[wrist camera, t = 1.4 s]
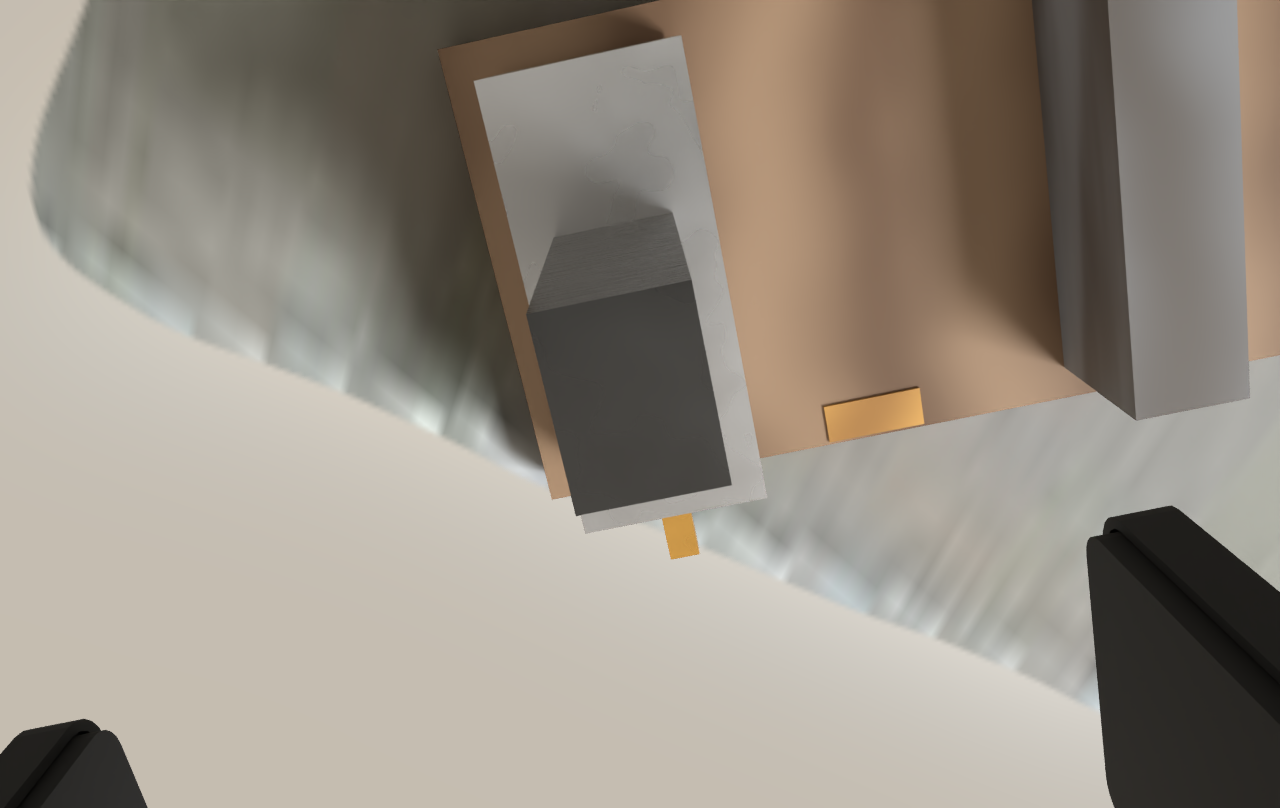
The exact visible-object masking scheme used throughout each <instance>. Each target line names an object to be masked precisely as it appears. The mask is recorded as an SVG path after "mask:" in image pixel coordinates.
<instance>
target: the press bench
mask: <svg viewBox="0 0 1280 808" xmlns="http://www.w3.org/2000/svg"><path fill="white" fill-rule="evenodd" d="M680 35H681V37H682V42H683V48H684V53H685V59H686V64H687V69H688V75H689V80H690V85H691V91H692V96H693V101H694V107H695V112H696V118H697V123H698V128H699V134H700V139H701V144H702V150H703V155H704V161H705V166H706V171H707V177H708V182H709V187H710V193H711V198H712V203H713V209H714V214H715V220H716V225H717V230H718V236H719V241H720V246H721V252H722V257H723V262H724V268H725V273H726V279H727V284H728V289H729V295H730V300H731V305H732V311H733V316H734V322H735V327H736V332H737V338H738V343H739V348H740V354H741V359H742V364H743V370H744V375H745V381H746V386H747V391H748V397H749V402H750V407H751V413H752V418H753V423H754V429H755V434H756V440H757V445H758V450H759V456H760V458H764V457H769V456H774V455H779V454H784V453H789V452H794V451H799V450H804V449H809V448H814V447H819V446H824V445H829V444H834V443H839V442H845V441H850V440H855V439H860V438H865V437H870V436H875V435H880V434H885V433H890V432H895V431H900V430H905V429H910V428H915V427H920V426H925V425H930V424H935V423H940V422H945V421H950V420H955V419H960V418H965V417H970V416H975V415H980V414H986V413H991V412H996V411H1001V410H1006V409H1011V408H1016V407H1021V406H1026V405H1031V404H1036V403H1041V402H1046V401H1051V400H1056V399H1061V398H1066V397H1071V396H1076V395H1081V394H1086V393H1091V392H1096V391H1097V392H1098V393H1100V394H1101V395H1102V396H1104V397H1105V398H1106V399H1108V400H1109V401H1111V402H1112V403H1113V404H1115V405H1116V406H1117V407H1119V408H1120V409H1121V410H1123V411H1124V412H1125V413H1127V414H1128V415H1129V416H1131V417H1132V418H1133V419H1135V420H1142V419H1147V418H1152V417H1157V416H1162V415H1167V414H1172V413H1177V412H1182V411H1187V410H1192V409H1197V408H1202V407H1208V406H1213V405H1218V404H1223V403H1228V402H1233V401H1238V400H1243V399H1248V398H1250V386H1249V361H1252V360H1257V359H1262V358H1267V357H1273V356H1278V355H1280V0H658V1H654V2H649V3H645V4H640V5H636V6H631V7H627V8H622V9H618V10H613V11H609V12H604V13H600V14H595V15H591V16H586V17H582V18H577V19H573V20H568V21H564V22H559V23H555V24H550V25H546V26H541V27H537V28H532V29H528V30H523V31H519V32H514V33H510V34H505V35H501V36H496V37H492V38H487V39H483V40H478V41H474V42H469V43H465V44H460V45H456V46H451V47H447V48H442V49H438V54H439V58H440V61H441V65H442V69H443V73H444V77H445V81H446V85H447V89H448V93H449V97H450V101H451V105H452V109H453V113H454V116H455V120H456V124H457V128H458V132H459V136H460V140H461V144H462V148H463V152H464V156H465V160H466V164H467V167H468V171H469V175H470V179H471V183H472V187H473V191H474V195H475V199H476V203H477V207H478V211H479V215H480V219H481V222H482V226H483V230H484V234H485V238H486V242H487V246H488V250H489V254H490V258H491V262H492V266H493V270H494V274H495V277H496V281H497V285H498V289H499V293H500V297H501V301H502V305H503V309H504V313H505V317H506V321H507V325H508V328H509V332H510V336H511V340H512V344H513V348H514V352H515V356H516V360H517V364H518V368H519V372H520V376H521V380H522V383H523V387H524V391H525V395H526V399H527V403H528V407H529V411H530V415H531V419H532V423H533V427H534V431H535V435H536V438H537V442H538V446H539V450H540V454H541V458H542V462H543V466H544V470H545V474H546V478H547V482H548V486H549V489H550V493H551V497H552V499H558V498H563V497H568V496H571V494H570V490H569V486H568V482H567V478H566V474H565V470H564V466H563V462H562V458H561V454H560V450H559V445H558V441H557V437H556V433H555V429H554V425H553V421H552V417H551V413H550V409H549V405H548V401H547V397H546V393H545V389H544V385H543V381H542V377H541V373H540V369H539V365H538V361H537V357H536V353H535V349H534V345H533V341H532V337H531V333H530V329H529V325H528V321H527V317H526V313H527V310H528V307H529V303H528V299H527V295H526V291H525V287H524V283H523V279H522V275H521V271H520V267H519V263H518V259H517V255H516V251H515V247H514V243H513V239H512V235H511V230H510V226H509V222H508V218H507V214H506V210H505V206H504V202H503V198H502V194H501V190H500V186H499V182H498V178H497V174H496V170H495V166H494V162H493V158H492V154H491V149H490V145H489V141H488V137H487V133H486V129H485V125H484V121H483V117H482V113H481V109H480V105H479V101H478V97H477V93H476V89H475V85H474V81H476V80H479V79H483V78H487V77H491V76H495V75H499V74H503V73H508V72H512V71H517V70H521V69H526V68H531V67H535V66H540V65H544V64H549V63H553V62H558V61H562V60H567V59H571V58H576V57H581V56H585V55H590V54H594V53H599V52H603V51H608V50H612V49H617V48H621V47H626V46H631V45H635V44H640V43H644V42H649V41H653V40H658V39H662V38H667V37H671V36H680Z"/></svg>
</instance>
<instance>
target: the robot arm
mask: <svg viewBox="0 0 1280 808" xmlns="http://www.w3.org/2000/svg"><path fill="white" fill-rule="evenodd" d="M1086 548H1087V566H1088V577H1089V588H1090V600H1091V611H1092V622H1093V634H1094V645H1095V656H1096V668H1097V679H1098V690H1099V702H1100V713H1101V724H1102V736H1103V746H1104V757H1105V770H1106V779H1107V785H1108V789H1109V793H1110V796H1111V799H1112V802H1113V805H1114V807H1115V808H1280V592H1279V591H1278V590H1277V589H1275V588H1274V587H1273V586H1272V585H1270V584H1269V583H1268V582H1267V581H1266V580H1264V579H1263V578H1262V577H1261V576H1259V575H1258V574H1257V573H1256V572H1255V571H1253V570H1252V569H1251V568H1250V567H1248V566H1247V565H1246V564H1245V563H1244V562H1242V561H1241V560H1240V559H1239V558H1237V557H1236V556H1235V555H1234V554H1233V553H1231V552H1230V551H1229V550H1228V549H1226V548H1225V547H1224V546H1223V545H1222V544H1220V543H1219V542H1218V541H1217V540H1215V539H1214V538H1213V537H1212V536H1211V535H1209V534H1208V533H1207V532H1206V531H1204V530H1203V529H1202V528H1201V527H1200V526H1198V525H1197V524H1196V523H1195V522H1193V521H1192V520H1191V519H1190V518H1189V517H1187V516H1186V515H1185V514H1184V513H1182V512H1181V511H1180V510H1179V509H1177V508H1175V507H1173V506H1166V507H1161V508H1156V509H1151V510H1146V511H1140V512H1135V513H1130V514H1125V515H1120V516H1115V517H1110V518H1108V519H1107V520H1106V522H1105V524H1104V529H1103V535H1100V536H1094V537H1090V538H1089V540H1088V542H1087V547H1086ZM0 808H147V805H146V803H145V800H144V798H143V796H142V793H141V791H140V789H139V786H138V784H137V781H136V779H135V777H134V774H133V772H132V769H131V767H130V765H129V762H128V760H127V758H126V756H125V753H124V751H123V748H122V746H121V744H120V742H119V740H118V738H117V737H116V736H115V735H114V734H113V733H112V732H110V731H107V730H103V731H101V730H100V728H99V727H98V726H97V725H96V724H95V723H93V722H92V721H90V720H86V719H81V720H76V721H71V722H66V723H60V724H55V725H50V726H45V727H40V728H35V729H30V730H26V731H23V732H21V733H20V734H19V735H18V736H16V737H15V738H14V739H13V740H12V741H11V743H10V744H9V745H8V746H7V747H6V748H5V750H4V751H3V752H2V753H1V754H0Z"/></svg>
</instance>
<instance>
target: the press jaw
mask: <svg viewBox="0 0 1280 808" xmlns="http://www.w3.org/2000/svg"><path fill="white" fill-rule="evenodd" d="M474 85H475V89H476V93H477V97H478V101H479V105H480V109H481V113H482V117H483V121H484V125H485V129H486V133H487V137H488V141H489V145H490V149H491V154H492V158H493V162H494V166H495V170H496V174H497V178H498V182H499V186H500V190H501V194H502V198H503V202H504V206H505V210H506V214H507V218H508V222H509V226H510V230H511V235H512V239H513V243H514V247H515V251H516V255H517V259H518V263H519V267H520V271H521V275H522V279H523V283H524V287H525V291H526V295H527V299H528V303H529V307H528V310H527V313H526V317H527V321H528V325H529V329H530V333H531V337H532V341H533V345H534V349H535V353H536V357H537V361H538V365H539V369H540V373H541V377H542V381H543V385H544V389H545V393H546V397H547V401H548V405H549V409H550V413H551V417H552V421H553V425H554V429H555V433H556V437H557V441H558V445H559V450H560V454H561V458H562V462H563V466H564V470H565V474H566V478H567V482H568V486H569V490H570V494H571V498H572V502H573V506H574V509H575V514H576V516H579V515H581V518H582V522H583V526H584V530H585V533H591V532H595V531H601V530H606V529H611V528H616V527H622V526H627V525H632V524H637V523H642V522H647V521H652V520H657V519H662V521H663V525H664V530H665V534H666V539H667V543H668V548H669V552H670V557H671V559H676V558H682V557H687V556H692V555H697V554H699V547H698V541H697V536H696V531H695V526H694V522H693V517H692V513H693V512H698V511H703V510H708V509H713V508H718V507H723V506H728V505H733V504H738V503H744V502H749V501H754V500H759V499H764V498H767V493H766V488H765V482H764V477H763V472H762V466H761V461H760V456H759V450H758V445H757V440H756V434H755V429H754V423H753V418H752V413H751V407H750V402H749V397H748V391H747V386H746V381H745V375H744V370H743V364H742V359H741V354H740V348H739V343H738V338H737V332H736V327H735V322H734V316H733V311H732V305H731V300H730V295H729V289H728V284H727V279H726V273H725V268H724V262H723V257H722V252H721V246H720V241H719V236H718V230H717V225H716V220H715V214H714V209H713V203H712V198H711V193H710V187H709V182H708V177H707V171H706V166H705V161H704V155H703V150H702V144H701V139H700V134H699V128H698V123H697V118H696V112H695V107H694V101H693V96H692V91H691V85H690V80H689V75H688V69H687V64H686V59H685V53H684V48H683V42H682V37H681V35H680V36H671V37H667V38H662V39H658V40H653V41H649V42H644V43H640V44H635V45H631V46H626V47H621V48H617V49H612V50H608V51H603V52H599V53H594V54H590V55H585V56H581V57H576V58H571V59H567V60H562V61H558V62H553V63H549V64H544V65H540V66H535V67H531V68H526V69H521V70H517V71H512V72H508V73H503V74H499V75H495V76H491V77H487V78H483V79H479V80H476V81H474Z"/></svg>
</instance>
